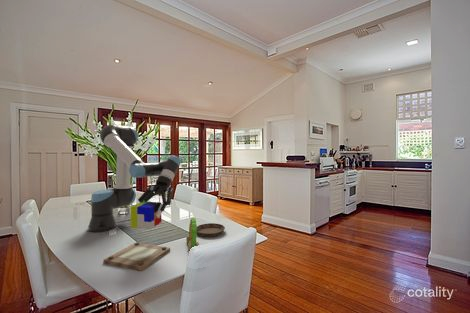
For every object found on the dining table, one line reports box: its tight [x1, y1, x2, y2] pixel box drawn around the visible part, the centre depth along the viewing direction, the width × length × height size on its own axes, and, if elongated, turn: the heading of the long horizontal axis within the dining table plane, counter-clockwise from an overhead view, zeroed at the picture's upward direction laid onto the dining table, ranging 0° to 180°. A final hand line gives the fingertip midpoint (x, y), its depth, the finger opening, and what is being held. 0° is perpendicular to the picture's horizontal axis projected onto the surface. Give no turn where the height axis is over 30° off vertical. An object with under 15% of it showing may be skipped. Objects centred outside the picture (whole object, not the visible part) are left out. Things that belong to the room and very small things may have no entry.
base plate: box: [103, 242, 171, 272], centre depth 106 cm, size 20×20×2 cm
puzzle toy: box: [130, 201, 162, 230], centre depth 111 cm, size 10×10×10 cm
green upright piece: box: [185, 217, 200, 252], centre depth 117 cm, size 16×5×15 cm, turn 17°
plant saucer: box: [197, 222, 226, 238], centre depth 138 cm, size 18×18×3 cm
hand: (147, 215), depth 112 cm, fingers closed on puzzle toy, 10 cm apart
